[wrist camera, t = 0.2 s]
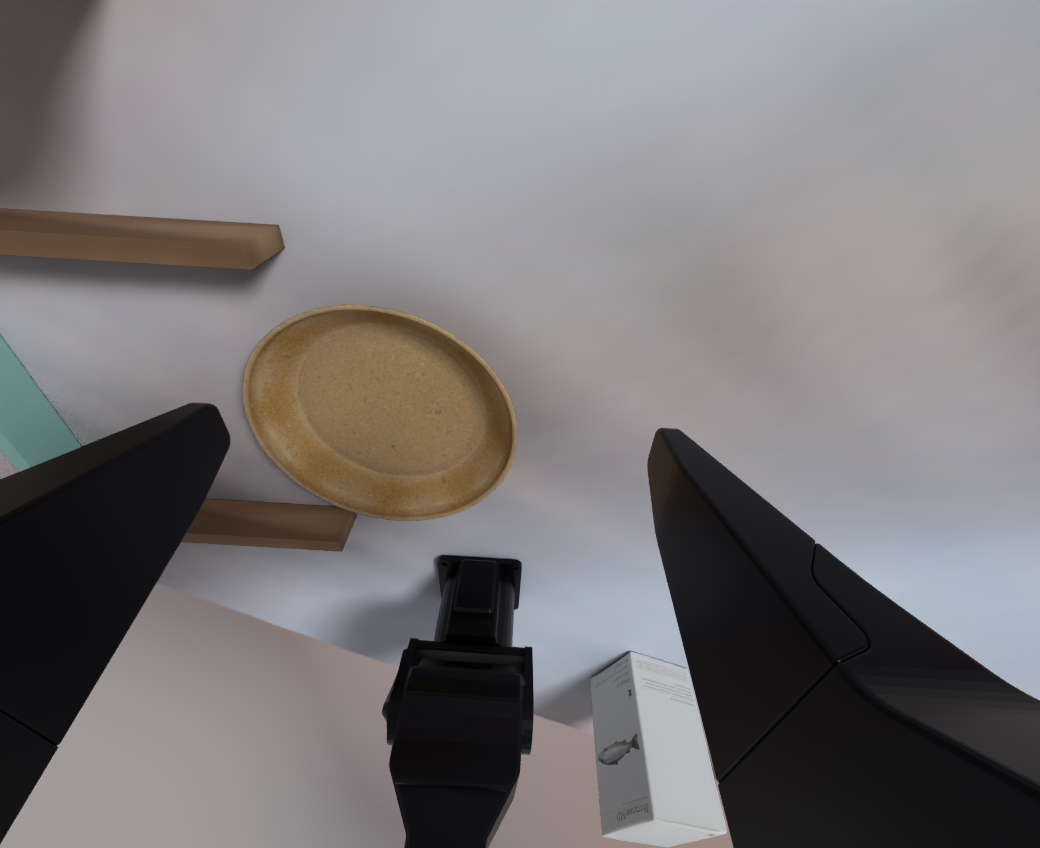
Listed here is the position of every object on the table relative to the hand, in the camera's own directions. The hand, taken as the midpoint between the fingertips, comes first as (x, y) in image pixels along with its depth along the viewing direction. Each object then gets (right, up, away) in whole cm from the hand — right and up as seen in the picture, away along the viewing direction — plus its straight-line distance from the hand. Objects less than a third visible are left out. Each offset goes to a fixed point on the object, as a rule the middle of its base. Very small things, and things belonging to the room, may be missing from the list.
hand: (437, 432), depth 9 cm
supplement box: (+14, -25, +37) cm, 47 cm away
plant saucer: (-6, +1, +18) cm, 19 cm away
